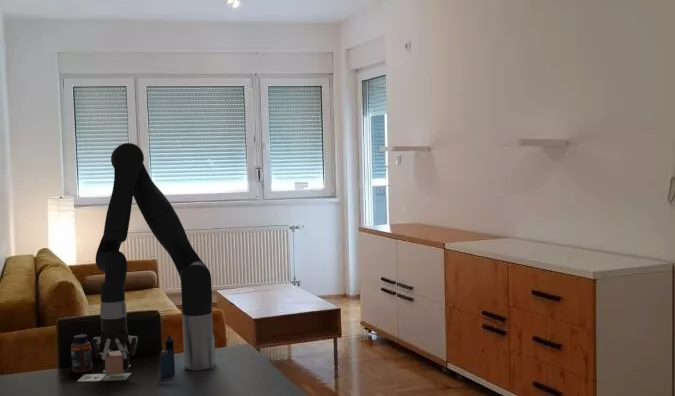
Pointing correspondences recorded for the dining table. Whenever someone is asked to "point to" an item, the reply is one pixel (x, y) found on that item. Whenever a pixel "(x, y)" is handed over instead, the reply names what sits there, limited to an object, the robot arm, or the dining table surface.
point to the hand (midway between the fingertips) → (116, 370)
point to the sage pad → (116, 376)
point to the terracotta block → (114, 363)
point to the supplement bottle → (81, 354)
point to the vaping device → (167, 359)
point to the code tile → (92, 377)
